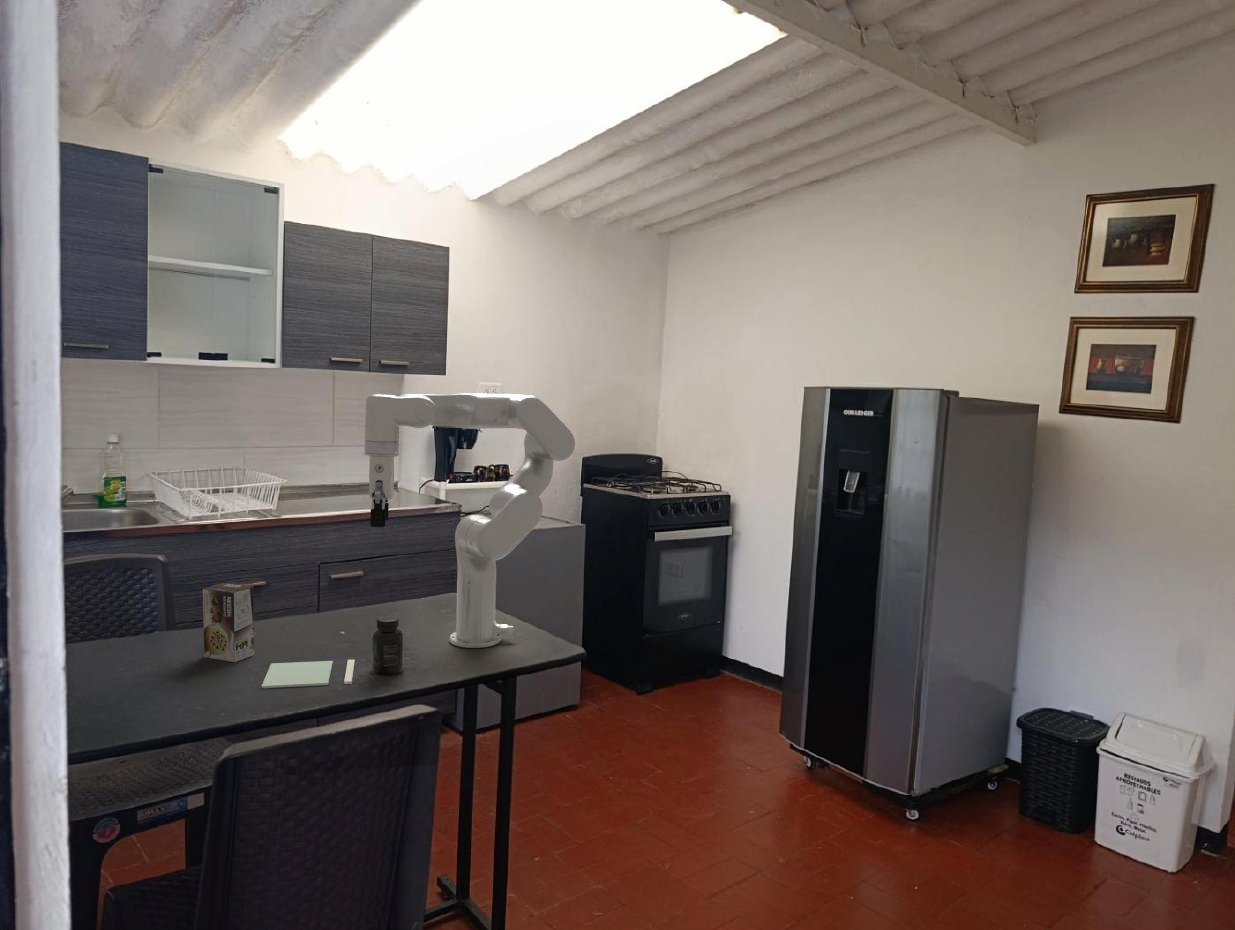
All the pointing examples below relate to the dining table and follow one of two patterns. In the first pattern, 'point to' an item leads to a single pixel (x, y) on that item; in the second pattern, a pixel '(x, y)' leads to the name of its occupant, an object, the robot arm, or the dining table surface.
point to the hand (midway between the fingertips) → (379, 523)
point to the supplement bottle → (387, 646)
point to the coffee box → (228, 622)
